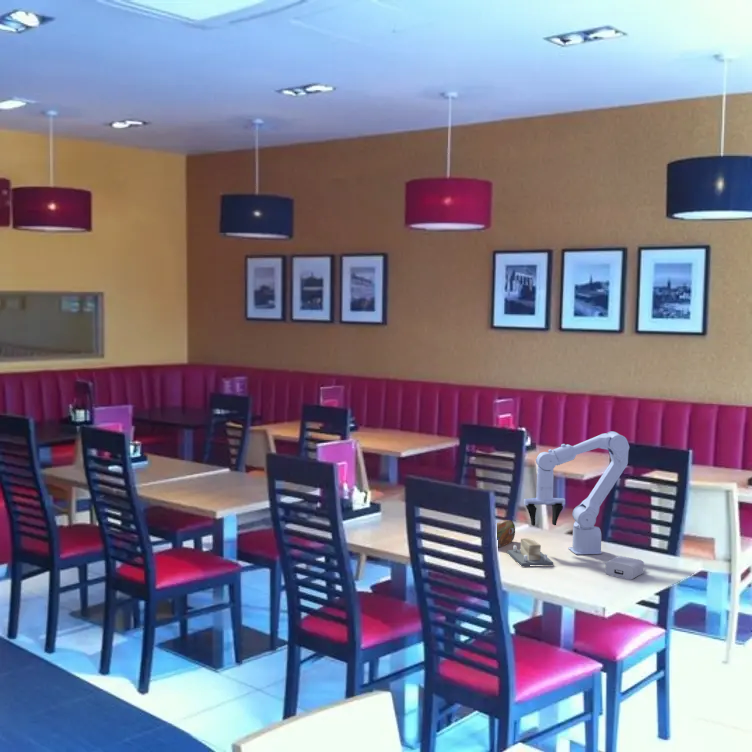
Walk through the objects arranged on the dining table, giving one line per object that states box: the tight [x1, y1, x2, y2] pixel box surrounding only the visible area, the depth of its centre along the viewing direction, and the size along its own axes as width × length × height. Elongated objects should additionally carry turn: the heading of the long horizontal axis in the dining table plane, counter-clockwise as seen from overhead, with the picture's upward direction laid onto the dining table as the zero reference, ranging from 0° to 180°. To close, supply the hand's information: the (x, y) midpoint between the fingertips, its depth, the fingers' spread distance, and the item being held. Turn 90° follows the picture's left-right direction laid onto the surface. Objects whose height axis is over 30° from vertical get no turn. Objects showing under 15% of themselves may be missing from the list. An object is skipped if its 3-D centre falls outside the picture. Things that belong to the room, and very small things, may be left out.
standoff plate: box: [506, 545, 554, 567], centre depth 315 cm, size 11×16×3 cm
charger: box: [604, 555, 645, 581], centre depth 303 cm, size 5×9×15 cm
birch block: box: [520, 537, 542, 560], centre depth 315 cm, size 4×9×5 cm, turn 9°
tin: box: [496, 519, 516, 548], centre depth 334 cm, size 15×3×8 cm, turn 143°
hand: (543, 524), depth 326 cm, fingers open, 7 cm apart
